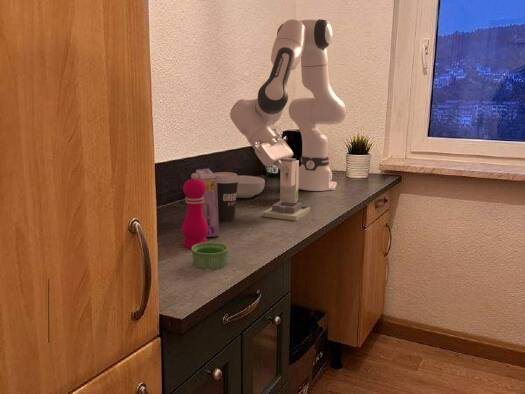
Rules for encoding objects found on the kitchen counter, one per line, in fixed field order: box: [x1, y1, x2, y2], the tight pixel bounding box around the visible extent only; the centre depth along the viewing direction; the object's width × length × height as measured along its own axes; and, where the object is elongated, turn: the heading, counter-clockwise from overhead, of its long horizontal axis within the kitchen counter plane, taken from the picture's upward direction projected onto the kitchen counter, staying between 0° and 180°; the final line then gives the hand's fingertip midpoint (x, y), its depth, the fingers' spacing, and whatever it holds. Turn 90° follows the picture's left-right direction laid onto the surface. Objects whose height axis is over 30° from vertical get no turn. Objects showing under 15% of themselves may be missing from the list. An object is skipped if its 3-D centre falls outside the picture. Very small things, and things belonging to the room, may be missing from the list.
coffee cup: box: [213, 171, 239, 222], centre depth 159 cm, size 10×10×15 cm
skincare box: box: [279, 159, 300, 202], centre depth 188 cm, size 8×7×16 cm
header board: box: [262, 200, 311, 222], centre depth 168 cm, size 14×12×4 cm
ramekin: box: [190, 241, 230, 270], centre depth 119 cm, size 9×9×4 cm
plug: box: [279, 157, 297, 186], centre depth 165 cm, size 4×4×9 cm
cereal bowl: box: [236, 175, 266, 199], centre depth 195 cm, size 17×17×7 cm
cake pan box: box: [195, 168, 220, 238], centre depth 147 cm, size 19×5×18 cm, turn 13°
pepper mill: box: [181, 172, 208, 249], centre depth 131 cm, size 7×7×20 cm
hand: (289, 171), depth 165 cm, fingers closed on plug, 4 cm apart
